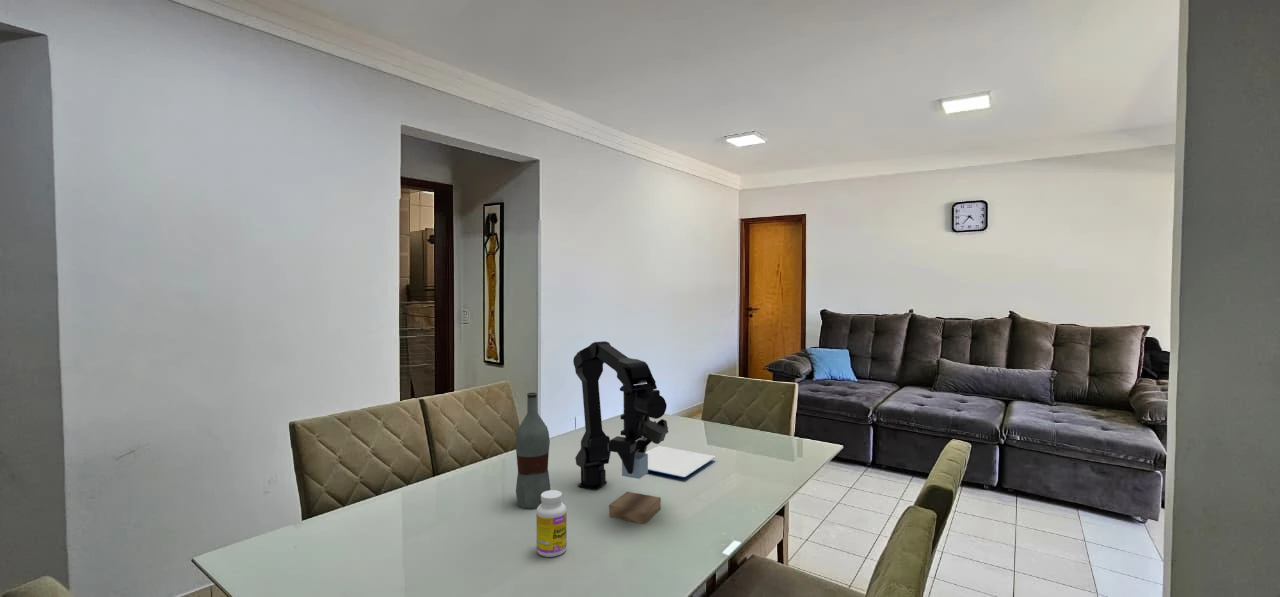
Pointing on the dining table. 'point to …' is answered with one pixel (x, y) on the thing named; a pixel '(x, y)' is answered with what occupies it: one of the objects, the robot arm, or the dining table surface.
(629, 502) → the base
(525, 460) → the grey bottle
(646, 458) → the cube
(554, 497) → the supplement bottle
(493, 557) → the dining table surface
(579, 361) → the robot arm
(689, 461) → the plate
